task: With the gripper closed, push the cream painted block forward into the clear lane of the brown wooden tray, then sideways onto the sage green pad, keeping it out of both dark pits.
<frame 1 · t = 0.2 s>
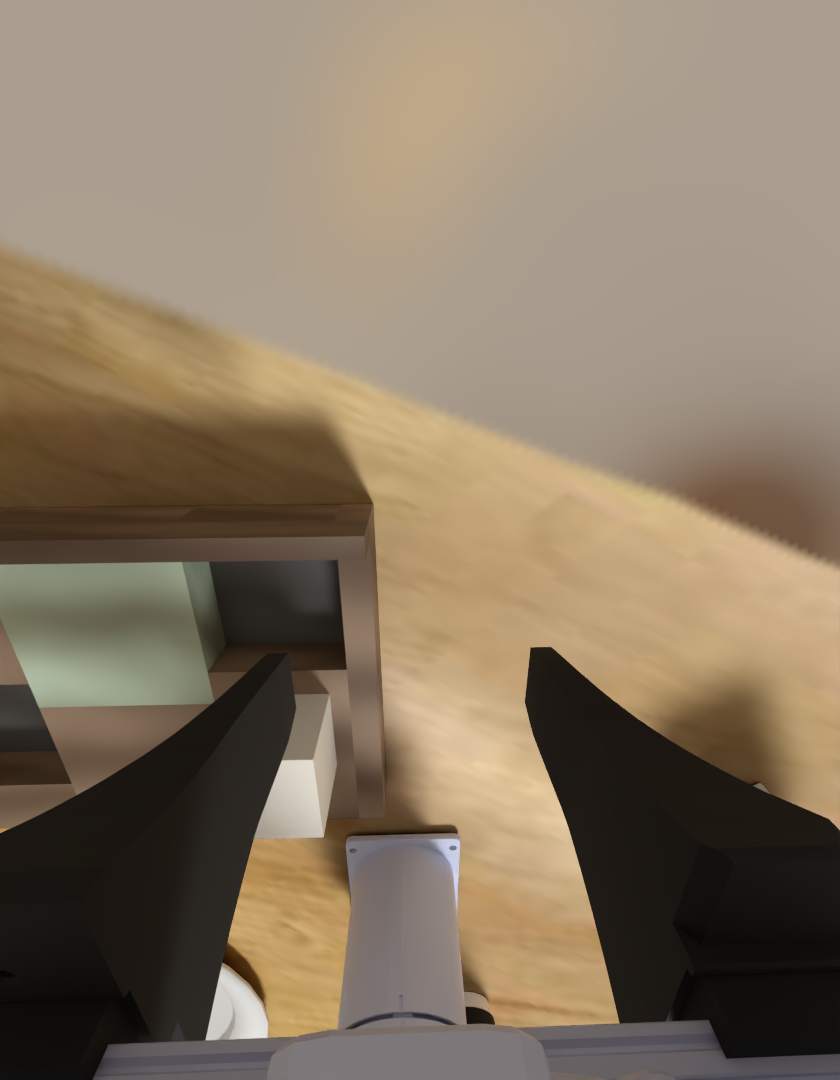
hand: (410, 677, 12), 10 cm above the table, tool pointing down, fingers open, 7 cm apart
plated food: (103, 993, 37), on the table
dixie cup: (462, 1002, 38), on the table
brown wooden tray: (143, 666, 24), on the table
cream block: (287, 731, 22), point 2 cm above the table, touching brown wooden tray
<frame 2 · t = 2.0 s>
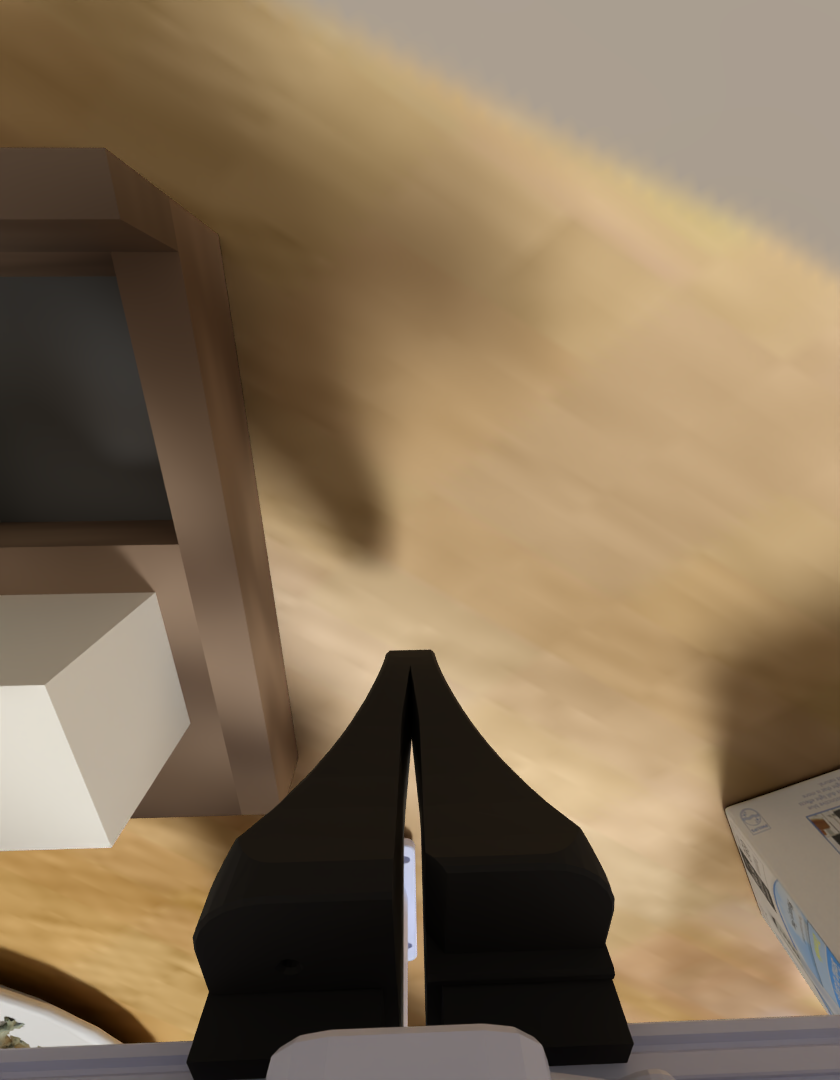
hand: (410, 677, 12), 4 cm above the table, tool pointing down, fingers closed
light bulb box: (804, 841, 21), on the table
cream block: (94, 664, 13), point 2 cm above the table, touching brown wooden tray
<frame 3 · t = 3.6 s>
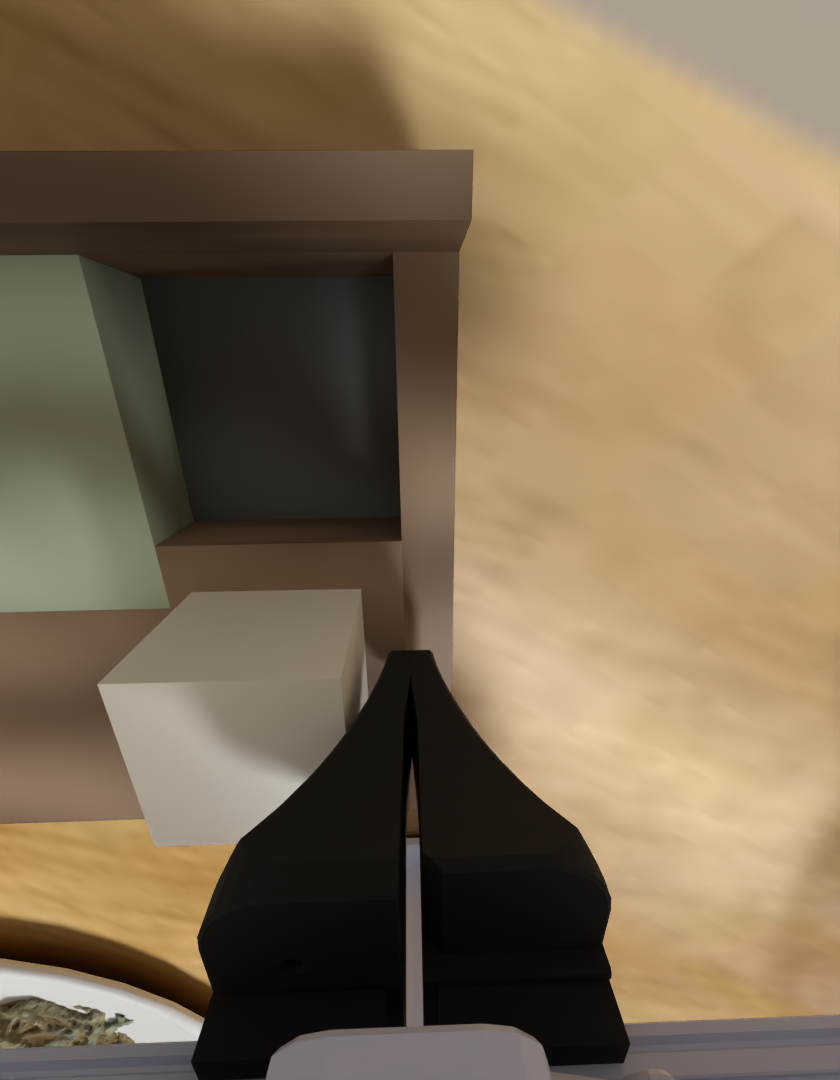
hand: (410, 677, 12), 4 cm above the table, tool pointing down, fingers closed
plated food: (49, 1052, 28), on the table
brown wooden tray: (61, 562, 15), on the table
cream block: (287, 660, 13), point 3 cm above the table, touching gripper
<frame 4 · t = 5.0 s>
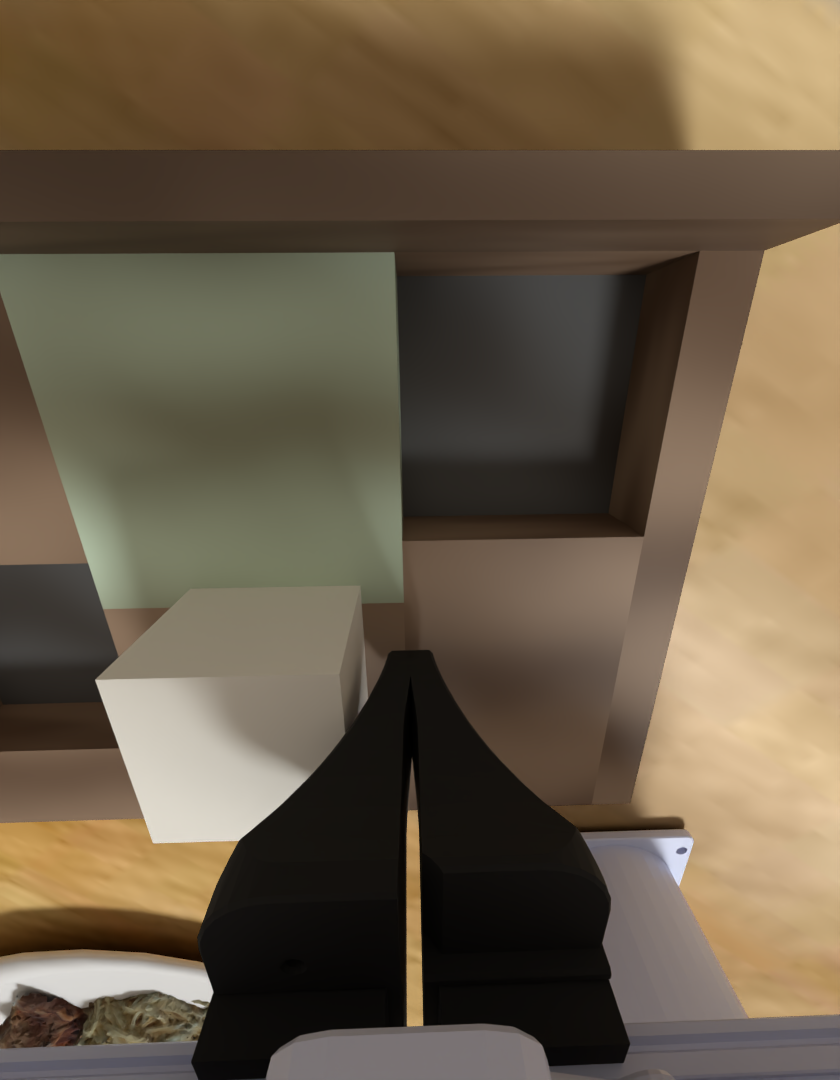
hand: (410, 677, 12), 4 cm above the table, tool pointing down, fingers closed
plated food: (154, 1047, 28), on the table
brown wooden tray: (262, 557, 15), on the table
cream block: (286, 657, 13), point 3 cm above the table, touching gripper
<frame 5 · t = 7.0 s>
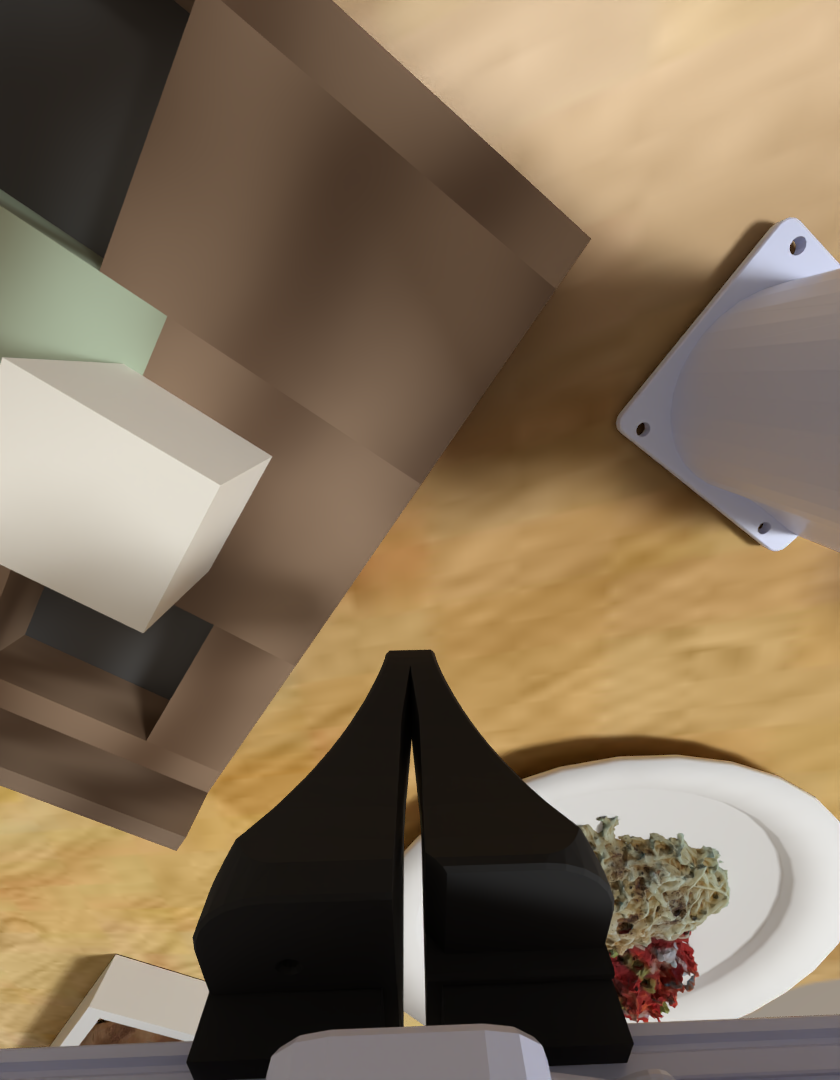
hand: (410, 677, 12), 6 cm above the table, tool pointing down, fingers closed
plated food: (594, 900, 28), on the table
brown skull figurine: (209, 1054, 34), on the table
brown wooden tray: (139, 439, 16), on the table
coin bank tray: (236, 1064, 34), on the table
cream block: (170, 476, 14), point 2 cm above the table, touching brown wooden tray
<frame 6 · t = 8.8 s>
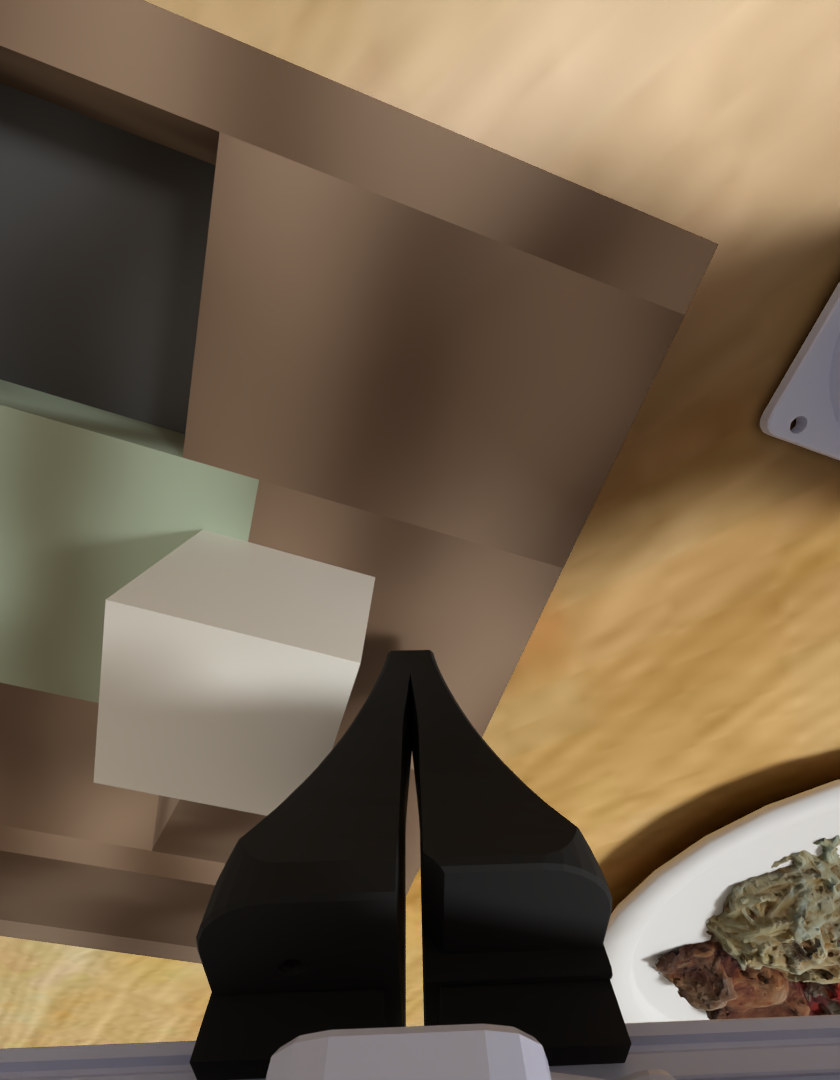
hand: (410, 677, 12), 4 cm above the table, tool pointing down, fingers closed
plated food: (822, 921, 24), on the table
brown wooden tray: (245, 589, 15), on the table
cream block: (274, 625, 13), point 3 cm above the table, touching gripper
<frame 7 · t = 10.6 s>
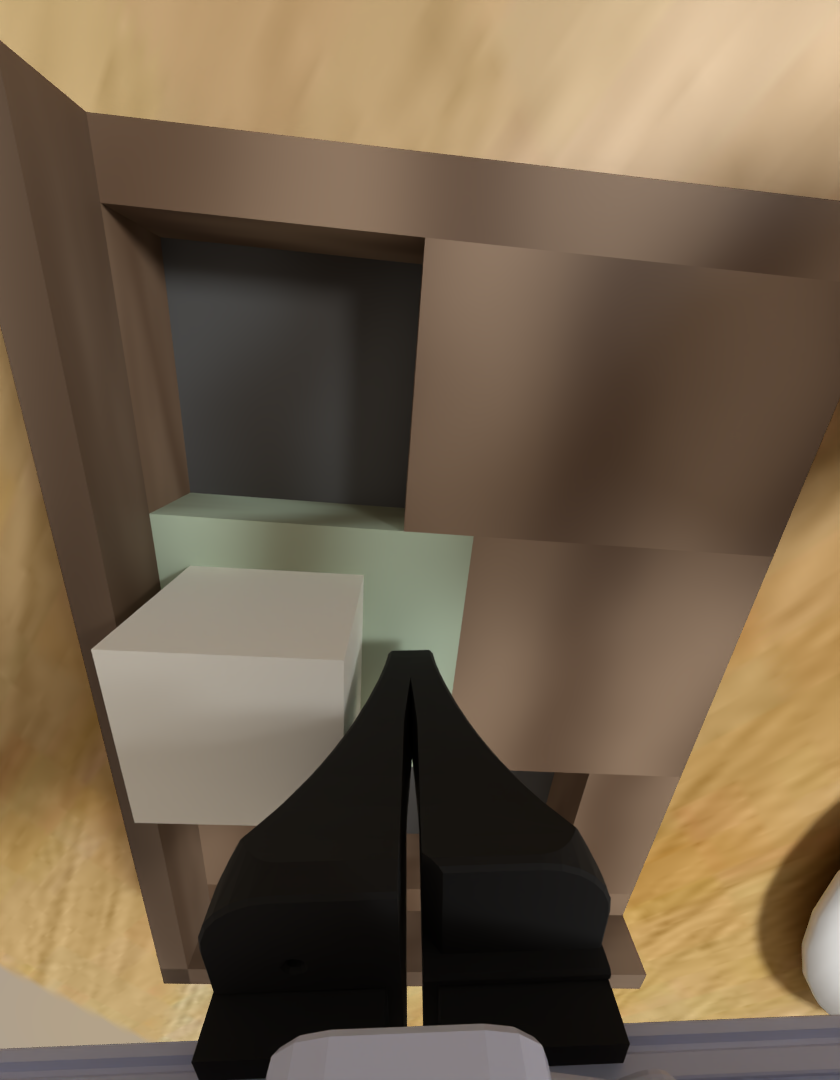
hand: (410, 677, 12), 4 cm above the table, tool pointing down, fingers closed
brown wooden tray: (434, 634, 16), on the table
cream block: (281, 642, 13), point 2 cm above the table, touching gripper, brown wooden tray
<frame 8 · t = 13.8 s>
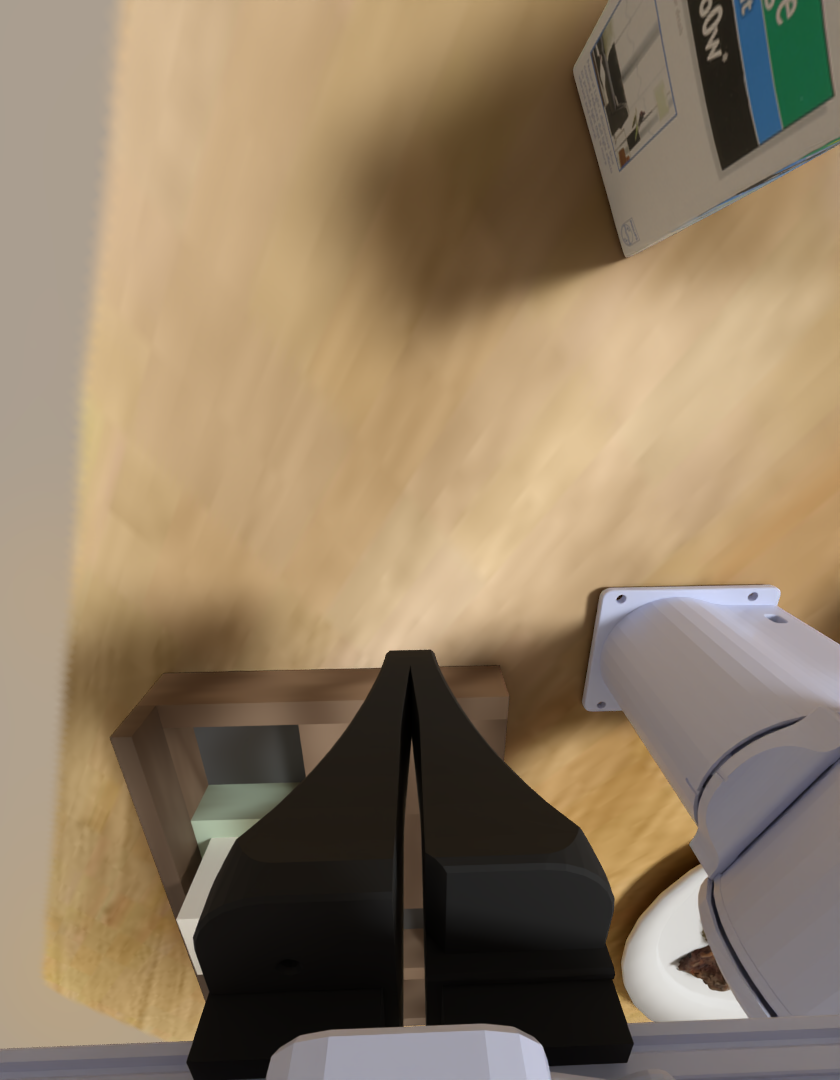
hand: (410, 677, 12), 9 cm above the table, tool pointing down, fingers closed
light bulb box: (729, 92, 15), on the table
plated food: (793, 914, 34), on the table
brown wooden tray: (349, 831, 28), on the table
cream block: (260, 863, 26), point 2 cm above the table, touching brown wooden tray
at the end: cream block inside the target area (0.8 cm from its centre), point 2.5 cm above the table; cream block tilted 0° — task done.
